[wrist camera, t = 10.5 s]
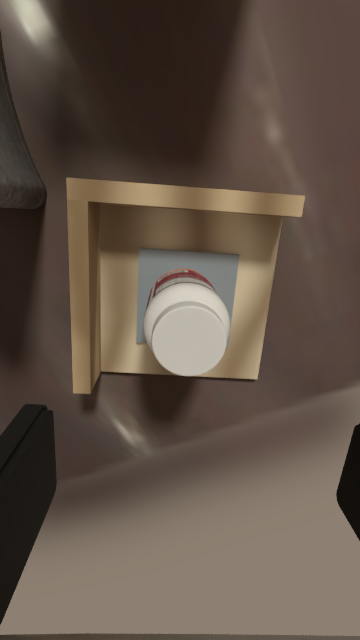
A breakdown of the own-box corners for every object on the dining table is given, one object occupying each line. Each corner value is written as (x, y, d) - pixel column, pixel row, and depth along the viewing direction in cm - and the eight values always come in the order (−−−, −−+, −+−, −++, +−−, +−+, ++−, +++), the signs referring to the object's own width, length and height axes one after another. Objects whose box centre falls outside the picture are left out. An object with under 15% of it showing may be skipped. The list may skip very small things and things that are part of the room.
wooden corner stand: (87, 367, 33) (73, 393, 29) (84, 184, 28) (66, 177, 23) (255, 376, 34) (269, 402, 29) (283, 199, 29) (305, 195, 24)
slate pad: (136, 340, 32) (136, 342, 32) (139, 247, 29) (139, 248, 29) (227, 346, 32) (228, 347, 32) (238, 254, 30) (239, 254, 29)
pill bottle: (192, 342, 32) (203, 404, 21) (137, 311, 31) (119, 360, 20) (228, 288, 30) (259, 327, 20) (171, 253, 29) (171, 274, 19)
